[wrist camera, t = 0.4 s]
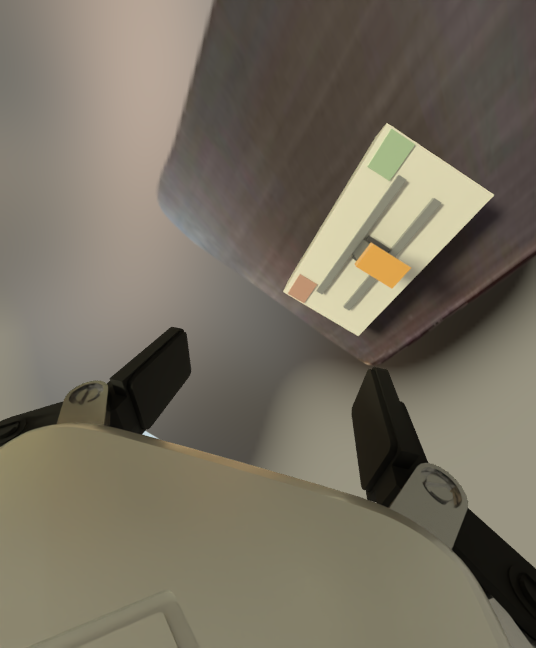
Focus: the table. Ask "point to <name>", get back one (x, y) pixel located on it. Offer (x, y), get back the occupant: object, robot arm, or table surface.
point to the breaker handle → (379, 262)
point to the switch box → (383, 228)
